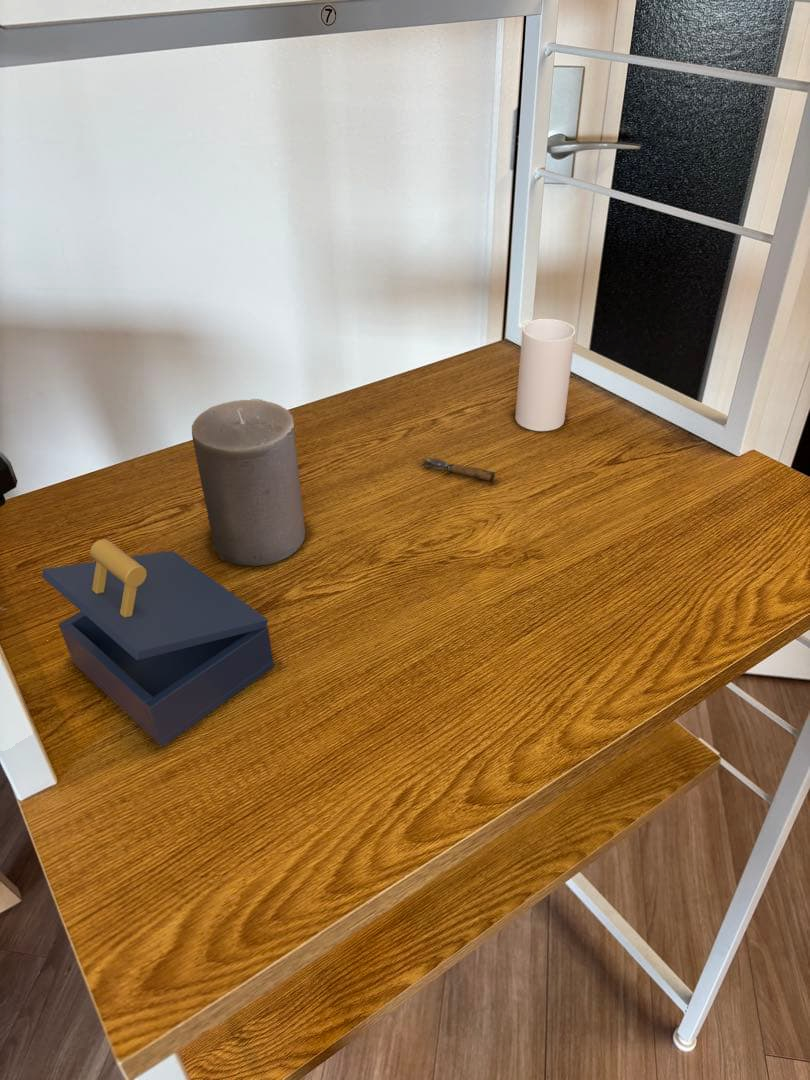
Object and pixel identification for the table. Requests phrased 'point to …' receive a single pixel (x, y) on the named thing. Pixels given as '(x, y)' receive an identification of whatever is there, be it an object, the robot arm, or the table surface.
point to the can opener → (461, 469)
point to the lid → (152, 600)
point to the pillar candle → (250, 481)
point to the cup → (544, 374)
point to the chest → (168, 675)
